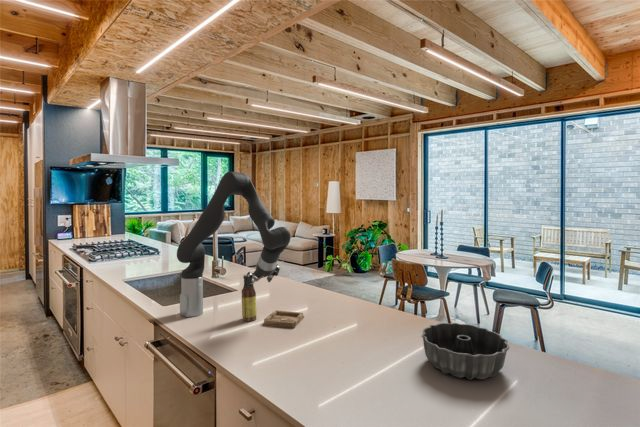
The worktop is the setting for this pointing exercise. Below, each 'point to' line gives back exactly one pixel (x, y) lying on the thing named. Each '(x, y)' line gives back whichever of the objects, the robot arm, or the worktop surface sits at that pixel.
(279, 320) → the dock
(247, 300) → the sauce bottle
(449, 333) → the bundt pan
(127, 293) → the worktop surface
